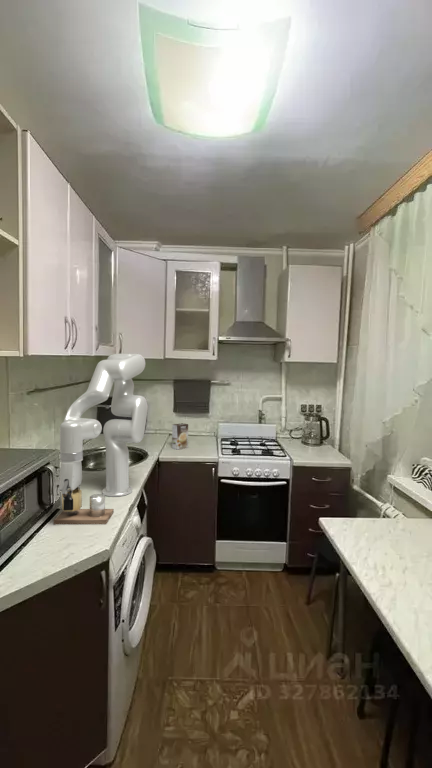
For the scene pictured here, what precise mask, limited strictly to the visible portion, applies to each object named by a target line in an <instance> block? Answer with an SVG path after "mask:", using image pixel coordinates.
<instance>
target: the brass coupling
mask: <svg viewBox="0 0 432 768" xmlns="http://www.w3.org/2000/svg"><path fill="white" fill-rule="evenodd" d="M70 489H71V488H68V490H70ZM82 491H83V490H82V489H81V488H80V489H74V490H73V496H72V499H73V510H64V502H63V495H62V494H61V510H62V511H63V510H64V511H75V510H79V509H82V505H83V504H82V503H83V502H82V501H83V500H82V499H83V497H82V494H83V493H82ZM68 493H69V494H70V492H68Z"/></svg>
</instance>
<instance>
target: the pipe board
mask: <svg viewBox="0 0 432 768" xmlns="http://www.w3.org/2000/svg"><path fill="white" fill-rule="evenodd" d="M113 515H114V508H105V515H103V516H101V517H91V516H90V508H80V509H79V510H76V515H74V516H68V515H67V511H64V510H62V511H61V512H60V513H59V514H58V515H57V516H56V517H55V518H54V519H53V525H107V524H108V522H109V520H110V519H111V517H112V516H113Z"/></svg>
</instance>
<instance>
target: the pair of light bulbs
mask: <svg viewBox="0 0 432 768" xmlns="http://www.w3.org/2000/svg"><path fill="white" fill-rule="evenodd" d="M89 509H90V516H91V517H101V516H103V515H105V509H106V495H104V494H103V493H96V494H91V495H89ZM67 515H68V516H74V515H76V510H75V511H67Z"/></svg>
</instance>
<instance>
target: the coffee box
mask: <svg viewBox="0 0 432 768" xmlns="http://www.w3.org/2000/svg"><path fill="white" fill-rule="evenodd" d="M171 425H172V428H171V429H172V431H171V449H175V450H182V449H188V447H189V424H188V423H174V424H171Z"/></svg>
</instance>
